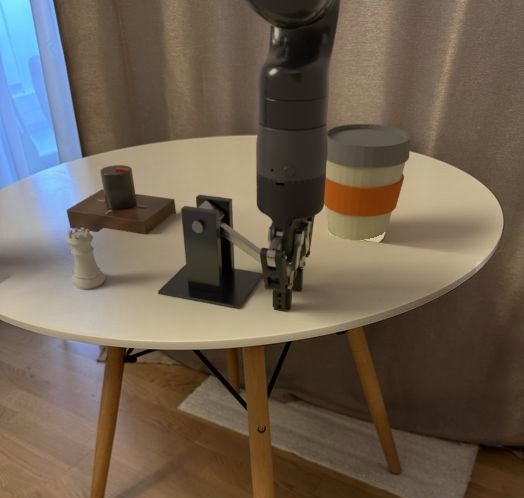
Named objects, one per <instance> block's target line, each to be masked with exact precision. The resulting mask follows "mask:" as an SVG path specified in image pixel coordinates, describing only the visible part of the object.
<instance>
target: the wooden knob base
mask: <svg viewBox="0 0 524 498" xmlns="http://www.w3.org/2000/svg"><path fill="white" fill-rule="evenodd" d="M135 195H136V202H137V203H136V205H135V206H133V207H130V208H127V209H111V208H108V207H107V206H106V201H105V195H104V190H103V188H102V189H100V190H98V191H97V192H95V193H93V194H91V195H90V196H88V197H86V198H84V199H83V200H81V201H79V202H78V203H76V204H74V205H73V206H71V207H70V208H67V209H66V214H67V219H68V224H69V227H70V228H71V229H74V228H77V229H78V230H81V227H82V228H85V229H88V230H89V232H95V233H96V232H97V233H98V232H100V231H101V230H102V229H107V230H114V231H120V232H128V233H133V234H140V235H148V234H149V233H150V232H151V231H153V230H154V229H156V227H157V226H159V225H160V224H162V223H163V222H164V221H166V220H167V219H168V218H169V217H171V216H172V215H173V214H174V215H176V214H177V210H176V200H175V198H168V197H163V196H162V197H161V196H154V195H147V194H141V193H140V194H139V193H135Z"/></svg>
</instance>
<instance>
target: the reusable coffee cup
mask: <svg viewBox="0 0 524 498" xmlns="http://www.w3.org/2000/svg"><path fill="white" fill-rule="evenodd" d="M327 142H328V148H327V165H326V181H325V197H324V206H325V207H326V222H327V225H326V226H327V232H328V231H329V232H330V233H331V234H332V235H334V236H333V237H336V236H337V237H336V238H340V239H343V240H347V239H349V240H348V241H354V240H364V239H370V238H374V237H377V236H379V235H382V234H383V233H384V232H386V233H387V231H388V227H389V224H390V221H391V216H392V213H393V211H395V209H397V204H398V202H399V199H400V194H401V191H402V188H403V184H404V180H405V175H404V170H405V167H406V166H405V165H406V163H407V161H409V159H410V152H411V151H410V149H411V148H410V147H411V135H410V134H409V132H407V131H406V130H403V129H401V128H398V127H393V126H389V125H384V124H378V123H377V124H375V123H349V124H348V123H347V124H341V125H339V124H338V125H336V126H332V127H330V128H328V129H327ZM386 230H387V231H386Z"/></svg>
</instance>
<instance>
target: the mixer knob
mask: <svg viewBox="0 0 524 498" xmlns="http://www.w3.org/2000/svg"><path fill="white" fill-rule="evenodd" d="M99 173H100V178H101V183H102V189H103V190H104V195H105V201H106V206H107V207H108V208H111V209H127V208H130V207H133V206H135V205H136V203H137V202H136V195H135V194H136V188H135V182H134V181H135V180H134V175H133V169H132V167H130V166H128V165H123V164H116V165H115V164H114V165H108V166H105V167H103V168H101V169H100V171H99Z"/></svg>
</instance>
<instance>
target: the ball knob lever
mask: <svg viewBox="0 0 524 498" xmlns="http://www.w3.org/2000/svg"><path fill="white" fill-rule="evenodd" d="M198 208H204V209H211V210H218V211H219V222H220V234H221V235H222V236H224V237H225V238H226V239H228V240H229V241H230V242H232V243H233V244H234V246H236V247H237V248H239V249H240V250H241V251H243V252H244V253H246V254H247V255H248V256H250V257H251V258H253V259H254V260H255V261H256V262H258V263H260V264H261V259H260V251H261V249H262V248H260V247H258V246H257V245H256V244H254V243H253V242H252V241H250V240H249V239H247V238H246V237H245V236H244V235H242V234H240V233H239V232H238V231H237V230H235V229H234V228H233V229H232V228H231V227H229V226H228V225H227V224H225V223H224V222H223V221H222V219H223V217H224V215H225V214H224V213H223V212H221V211H220V210H219V209H217V208H216V207H215V206H213V205H212V204H210V203H209V202H208V201H205V202H204V203H203V204H201V205H200V206H199V207H198ZM286 261H289V262H292V260H291V259H288V258H286ZM296 275H297V269H295V270H294V275H293V281H294V280H295V278H296Z"/></svg>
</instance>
